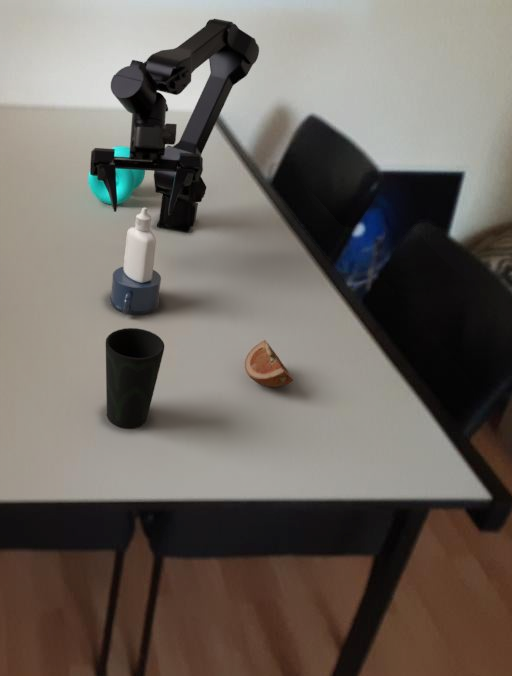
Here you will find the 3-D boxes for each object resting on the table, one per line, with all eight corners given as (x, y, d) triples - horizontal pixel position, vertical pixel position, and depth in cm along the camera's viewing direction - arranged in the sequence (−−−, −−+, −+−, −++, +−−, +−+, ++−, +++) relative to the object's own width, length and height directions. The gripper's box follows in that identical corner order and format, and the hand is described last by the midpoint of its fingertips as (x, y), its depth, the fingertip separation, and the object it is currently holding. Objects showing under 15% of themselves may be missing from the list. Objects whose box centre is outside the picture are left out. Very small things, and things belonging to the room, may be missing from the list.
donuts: (85, 201, 178) (88, 155, 173) (100, 185, 186) (104, 140, 180) (130, 210, 175) (134, 163, 170) (144, 193, 183) (149, 148, 177)
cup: (95, 400, 120) (102, 328, 113) (149, 399, 121) (158, 327, 114) (103, 434, 114) (110, 359, 107) (159, 432, 114) (169, 358, 108)
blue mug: (117, 287, 148) (119, 261, 145) (163, 296, 146) (167, 270, 143) (100, 314, 140) (102, 287, 137) (149, 324, 138) (152, 297, 135)
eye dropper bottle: (148, 268, 143) (155, 201, 136) (152, 284, 139) (160, 215, 132) (122, 267, 143) (128, 200, 136) (125, 283, 138) (132, 215, 132)
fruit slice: (298, 398, 122) (305, 369, 119) (253, 400, 122) (259, 371, 119) (278, 366, 129) (285, 338, 126) (236, 367, 128) (241, 339, 125)
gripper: (94, 100, 138) (87, 190, 136) (209, 106, 137) (204, 197, 135) (93, 131, 149) (87, 215, 147) (200, 137, 148) (195, 222, 146)
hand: (142, 212), depth 143 cm, fingers open, 9 cm apart
